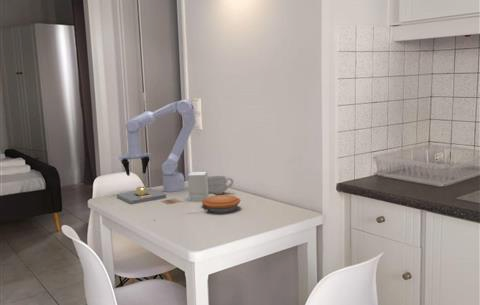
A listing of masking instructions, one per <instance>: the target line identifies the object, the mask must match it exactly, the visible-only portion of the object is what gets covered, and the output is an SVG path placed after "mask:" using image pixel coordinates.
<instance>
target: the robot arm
mask: <svg viewBox="0 0 480 305" xmlns="http://www.w3.org/2000/svg"><path fill="white" fill-rule="evenodd" d="M177 112H178V113H179V115H180V116H181V117H182V120H183V121H184V122H183V125H182V128H181V130H180V132H179V134H178V136H177V139H176V140H175V143H174V145H173V147H172V149H171V151H170V154H169V155H168V157H167V159H166V160H165V162H163V163H162V165H161V172H162V186H163V187H162V188H163V191H160V192H161V193H163V192H166V193H167V192H168V193H170V192H171V193H172V192H176V191H177V192H178V191H182V190H185V189H186V188H185V177H184V174H183V172H179V171H178V170H177V169H178V167H179V160H180V157H181V155H182V153H183V151H184V148H185V147H186V144H187V142H188V140H189V138H190V136H191V133H192V132H193V129H194V128H195V125H196V122H197V120H196V112H195V106H194V105H193V103H192V101H190V100H189V99H187V98H184V99H182V100H181V99H180V100H178V101H174V102H172V103H171V102H170V103H168V104H166V105H164V106H162V107H161V108H159V109H157V110H154V111H149V110H147V111H146V110H145V111H143V112H142V114H139V115H134V116H133V118H131V119H128V120H127V121H126V123H125V130H126V132H127V134H126V136H127V137H126V138H127V139H126V140H127V153H128V154H123V155H118V160H119V161H120V162H121V164H122V166H123V167H124V170H125V173H126V176H129V177H130V161H129V160H137V159H140V160H141V166H142V169H141V170H142V174H146V172H147V168H148V165H149V162H150V160H151V159H150V158H151V157H152V153H150V152H144V153H143V152H142V149H141V148H142V147H141V146H142V145H141V143H142V142H141V134H140V129H144V128H145V127H148V126H149V125H151V124H153V123H155V121H156V119H157V118H160V117H163V116H165V115H166V114H168V113H177Z"/></svg>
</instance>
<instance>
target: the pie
mask: <svg viewBox="0 0 480 305" xmlns="http://www.w3.org/2000/svg"><path fill="white" fill-rule="evenodd" d="M240 202H241V199H240V198H239V197H237V196H235V195H230V194H220V195H212V196H211V195H210V196H209V197H207V198H206V199H204V200H203V201H201V204H202V205H203V206H204V208H206V210H207V211H208V212H210V213H215V214H225V213H231V212H234V211H235V210H236V209H237V207H238V205H239V204H240Z"/></svg>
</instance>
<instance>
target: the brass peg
mask: <svg viewBox="0 0 480 305" xmlns="http://www.w3.org/2000/svg"><path fill="white" fill-rule="evenodd" d="M146 189H147V187H146V186H137V187H136V191H137V196H144V195H146Z"/></svg>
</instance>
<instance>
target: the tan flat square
mask: <svg viewBox="0 0 480 305" xmlns="http://www.w3.org/2000/svg"><path fill="white" fill-rule="evenodd" d="M160 202H161V203H164V204H166V205H171V204H177V203H178V204H179V203H183V202H184V201H182V200H180V199H177V198H171V199H165V200H161V201H160Z"/></svg>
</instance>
